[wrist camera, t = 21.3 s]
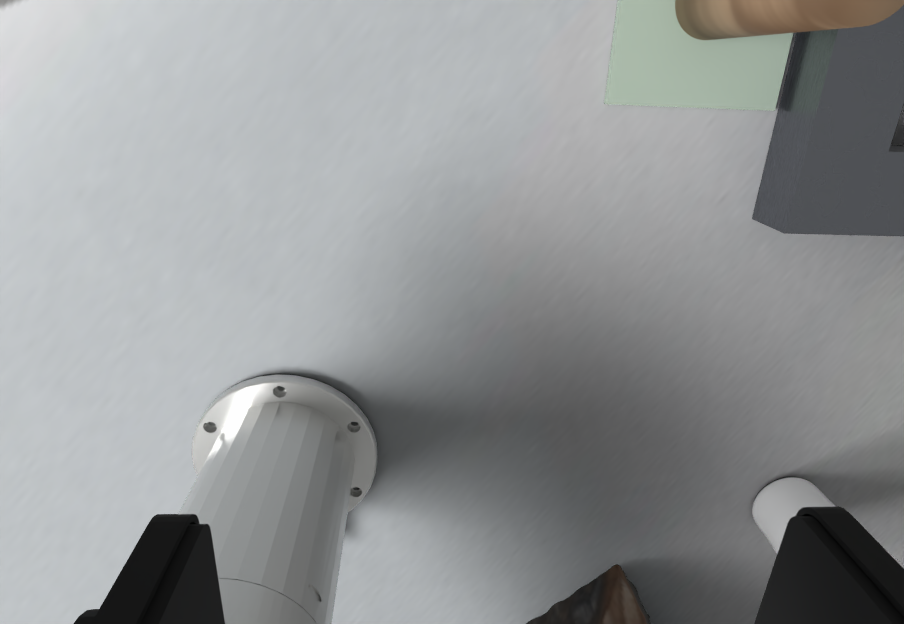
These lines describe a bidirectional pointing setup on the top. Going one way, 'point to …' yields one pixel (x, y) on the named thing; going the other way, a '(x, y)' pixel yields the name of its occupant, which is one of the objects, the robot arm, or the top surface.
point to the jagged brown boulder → (599, 603)
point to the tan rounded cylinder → (777, 16)
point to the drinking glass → (785, 506)
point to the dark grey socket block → (838, 135)
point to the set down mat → (690, 63)
